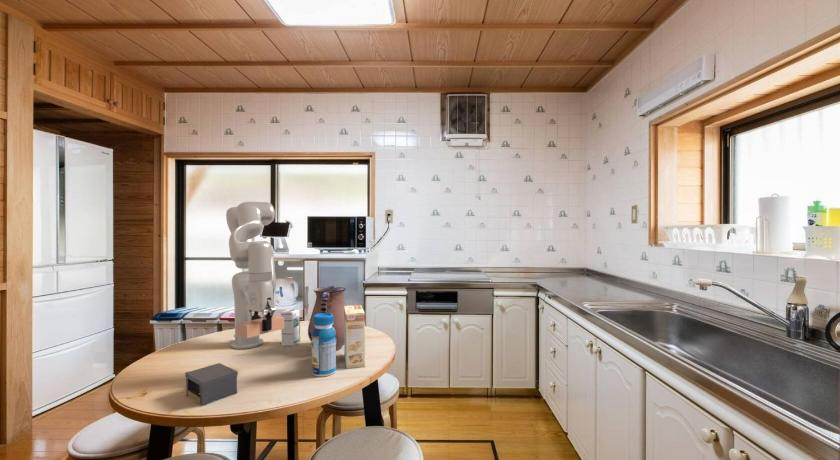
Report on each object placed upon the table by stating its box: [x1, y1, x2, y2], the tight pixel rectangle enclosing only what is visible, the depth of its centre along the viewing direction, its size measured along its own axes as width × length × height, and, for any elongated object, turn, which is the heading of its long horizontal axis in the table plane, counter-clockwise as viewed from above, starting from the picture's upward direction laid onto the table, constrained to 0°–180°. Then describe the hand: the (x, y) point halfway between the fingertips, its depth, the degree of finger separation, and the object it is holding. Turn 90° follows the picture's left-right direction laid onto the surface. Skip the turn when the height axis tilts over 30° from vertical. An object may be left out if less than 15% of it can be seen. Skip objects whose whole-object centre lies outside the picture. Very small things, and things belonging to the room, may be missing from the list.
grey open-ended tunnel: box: [184, 362, 239, 407], centre depth 113 cm, size 12×10×7 cm
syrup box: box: [280, 308, 301, 347], centre depth 161 cm, size 6×6×14 cm
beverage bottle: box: [310, 313, 337, 377], centre depth 129 cm, size 8×8×20 cm
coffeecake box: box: [343, 304, 366, 369], centre depth 140 cm, size 15×7×20 cm, turn 14°
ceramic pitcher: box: [307, 285, 347, 351], centre depth 153 cm, size 18×21×25 cm
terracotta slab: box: [237, 314, 284, 338], centre depth 129 cm, size 6×14×4 cm, turn 145°
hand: (261, 328), depth 129 cm, fingers closed on terracotta slab, 6 cm apart
